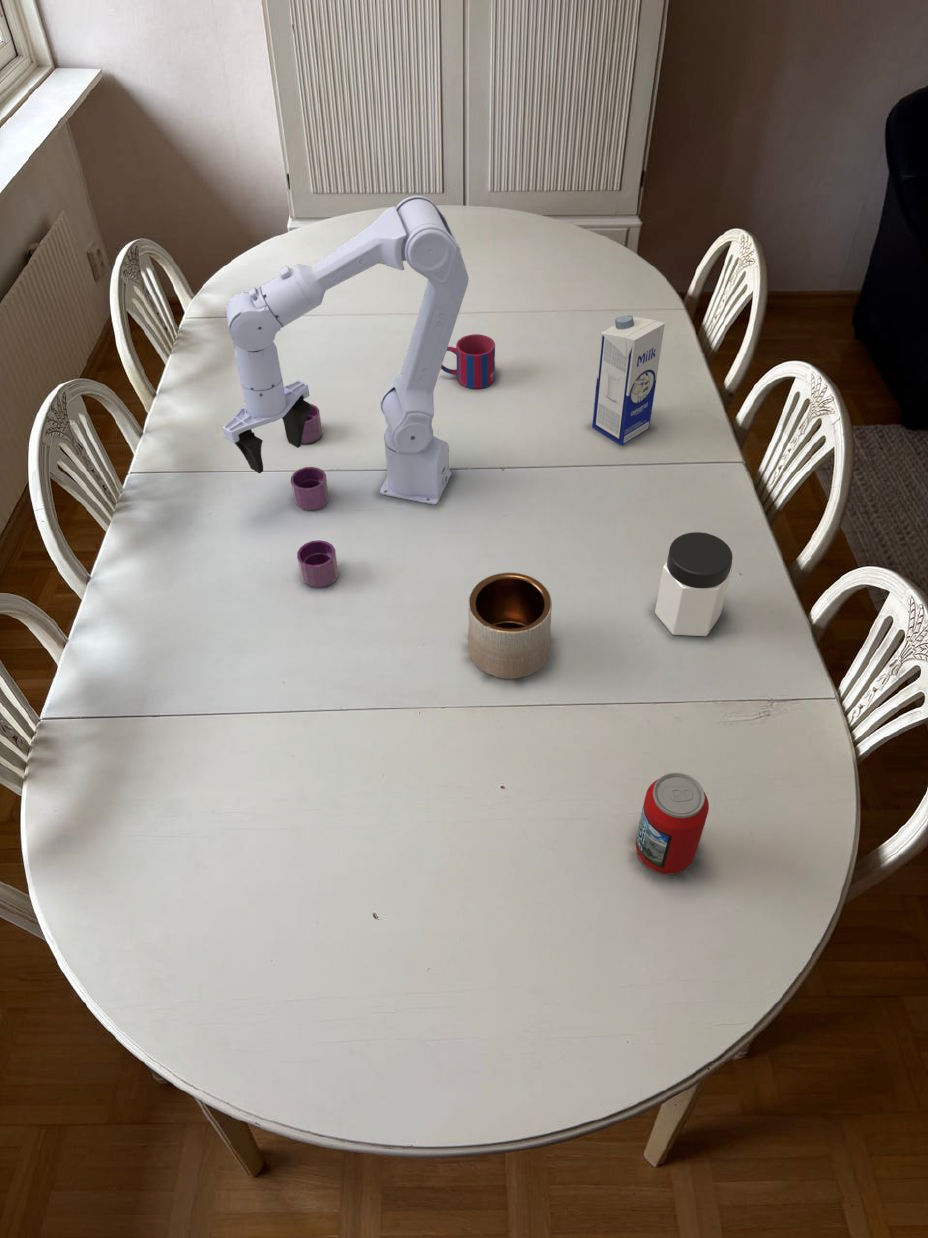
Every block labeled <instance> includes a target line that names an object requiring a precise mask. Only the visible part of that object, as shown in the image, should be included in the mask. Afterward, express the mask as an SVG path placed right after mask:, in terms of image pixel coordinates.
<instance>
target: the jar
mask: <svg viewBox="0 0 928 1238" xmlns="http://www.w3.org/2000/svg"><path fill="white" fill-rule="evenodd" d="M732 564H733V551H732V549H731V548H730V546H729V545H728V543H726V541H724V540H723V539H721V538H720V537H718V536H716V535H713V534H710V533H707V532H700V531H699V532H698V531H694V532H688V533H684V534H681V535H678V536H677V537H675V539H674V540H673V541H672V542H671V543H670V546H669V550H668V555H667V560H666V562H665V563H664V565H663V567H662V572H661V576H660V583H659V588H658V593H657V597H656V598H657V599H656V604H655V605H656V606H655V609H654V614H655V616H657V618H658V619H659V620H660V622H661V623H662V624H663V625H664V626H665V627H666V628H667V630H668V631H669V632H670V633H671V635H673V636H692V637H707V636H708V635H709V633H710V632H711V630H712V629H713V627H714V626H715V624H716V623H717V621H718V620H719V618H720V617H721V615H722V610H723V607H724V603H725V599H726V595H727V591H728V587H729V584H730V580H731V576H732V572H733V568H732Z"/></svg>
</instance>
